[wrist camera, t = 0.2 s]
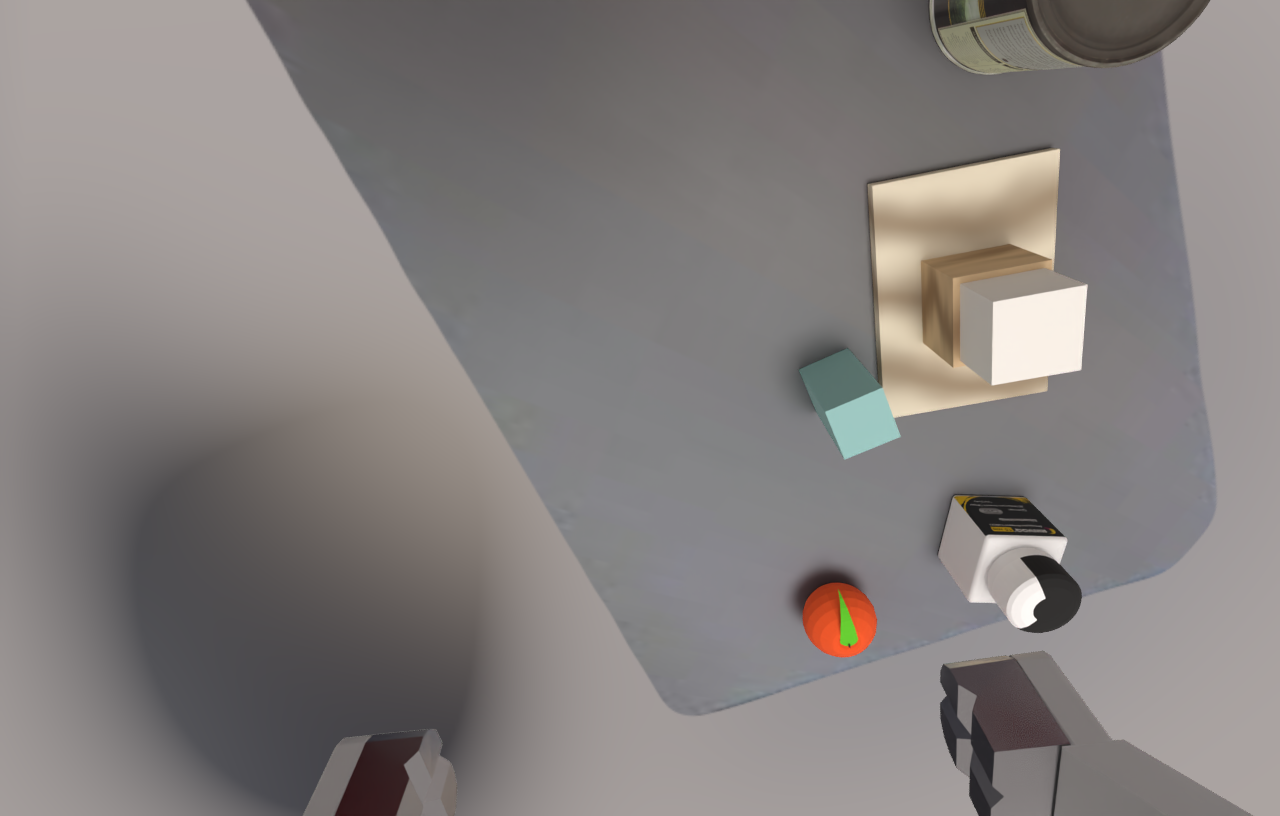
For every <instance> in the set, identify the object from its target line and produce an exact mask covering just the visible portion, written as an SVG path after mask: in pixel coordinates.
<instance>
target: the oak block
mask: <svg viewBox="0 0 1280 816" xmlns="http://www.w3.org/2000/svg"><path fill="white" fill-rule="evenodd" d="M1052 261H1053V260H1052V259H1049V258H1047V257H1044V256H1041V255H1039V254H1036V253H1033V252H1031V251H1028V250H1025V249H1022V248H1020V247H1017V246H1014V245H1012V244H1007V245H1002V246H997V247H991V248H986V249H981V250H975V251H970V252H965V253H959V254H954V255H949V256H944V257H938V258H933V259H928V260H922V261H921V288H922V327H923V343H924V344H925V345H926V346H927V347H929V348H930V349H931V350H932V351H933V352H935V353H936V354H937V355H938V356H939V357H941V358H942V359H943V360H944V361H945V362H947V363H948V364H949V365H950V366H952V367H953V368H956V367H962V366H966V365H965V364H964V363H962V362H961V361H960V284H961V283H966V282H972V281H977V280H982V279H988V278H993V277H999V276H1004V275H1009V274H1015V273H1020V272H1026V271H1031V270H1036V269H1042V268H1047V269H1049V270H1052Z"/></svg>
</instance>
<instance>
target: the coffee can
mask: <svg viewBox="0 0 1280 816" xmlns="http://www.w3.org/2000/svg"><path fill="white" fill-rule="evenodd" d="M1209 1H1210V0H930V4H929V11H930V22H931V27H932V32H933V35H934V38H935V40H936V42H937V44H938V46H939V47H940V49H941V51H942V52H943V53H944V54H945V56H946V57H947V58H948V59H949V60H950V61H952V62H953V63H954V64H955V65H957V66H958V67H960V68H962V69H964V70H966V71H968V72H972V73H977V74H984V75H990V74H1000V73H1004V72H1015V71H1028V70H1043V69H1057V68H1071V67H1094V68H1112V67H1119V66H1124V65H1128V64H1132V63H1135V62H1138V61H1140V60H1143V59H1145V58H1147V57H1150V56H1152V55H1154V54H1155V53H1157V52H1159V51H1160V50H1162V49H1164V48H1165V47H1166V46H1168V45H1169V44H1171V43H1172V42H1173V41H1175V40H1176V39H1177V38H1178V37H1179V36H1181V35H1182V34H1183V32H1185V31H1186V30H1187V29H1188V28H1189V27H1190V26H1191V25H1192V24H1193V23H1194V21H1195V20H1196V19H1197V18H1198V17H1199V16H1200V14H1201V13H1202V12H1203V10H1204V9H1205V8H1206V6H1207V5H1208V3H1209Z"/></svg>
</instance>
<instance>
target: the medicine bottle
mask: <svg viewBox="0 0 1280 816" xmlns="http://www.w3.org/2000/svg"><path fill="white" fill-rule="evenodd" d="M1066 544H1067V539H1066V537H1065V536H1064V535H1063V534H1062V533H1061V532H1060V531H1059V530H1058V529H1057V528H1056V527H1055V526H1054V525H1053V524H1052V523H1051V522H1050V521H1049V520H1048V519H1047V518H1046V517H1045V516H1044V515H1043V514H1042V513H1041V512H1040V511H1039V510H1038V509H1037V508H1036V507H1035V506H1034V505H1033V504H1032V503H1031V502H1030V501H1029V500H1028V499H1027V498H1025V497H1001V496H967V495H955V496H954V497H953V499H952V503H951V506H950V510H949V514H948V518H947V522H946V526H945V530H944V533H943V537H942V541H941V545H940V549H939V553H938V557H939V558H940V560H941V561H942V563H943V564H944V566H945V567H946V569H947V570H948V572H949V573H950V574H951V576H952V577H953V579H954V580H955V582H956V583H957V585H958V586H959V588H960V589H961V591H962V592H963V594H964V595H965V597H966V598H967V600H968V601H969V602H977V603H997V604H998V606H999V607H1000V609H1001V610H1002V611H1003V613H1004V614H1005V615H1006V617H1007V618H1008V620H1009V621H1010V622H1011V623H1012V624H1013V625H1014V626H1015V627H1016V628H1018V629H1020V630H1023V631H1026V632H1032V633H1043V632H1049V631H1052V630H1055V629H1057V628H1060V627H1061V626H1063V625H1065V624H1066V623H1067V622H1069V621H1070V620H1071V619H1072V618H1073V617H1074V615H1075V614H1076V613H1077V611H1078V609H1079V607H1080V603H1081V599H1082V593H1081V589H1080V587H1079V585H1078V584H1077V582H1076V581H1075V580H1074V579H1073V578H1072V577H1071V576H1070V575H1069V574H1068V573H1067V572H1066V571H1065V569H1064V568H1063V567H1062V566H1061V565H1060V561H1061V558H1062V555H1063V552H1064V550H1065V547H1066Z"/></svg>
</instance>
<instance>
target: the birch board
mask: <svg viewBox="0 0 1280 816" xmlns="http://www.w3.org/2000/svg"><path fill="white" fill-rule="evenodd" d="M1059 160H1060V149H1056V148H1048V149H1043V150H1038V151H1033V152H1028V153H1023V154H1018V155H1013V156H1008V157H1003V158H998V159H992V160H987V161H982V162H977V163H972V164H967V165H962V166H957V167H952V168H947V169H942V170H937V171H932V172H926V173H921V174H916V175H911V176H906V177H901V178H896V179H891V180H886V181H881V182H876V183H871V184H867V185H868V203H869V222H870V240H871V258H872V277H873V295H874V313H875V332H876V350H877V368H878V383H879V384H880V385H881V386H882V388H883V390H884V393H885V396H886V398H887V401H888V404H889V407H890V409H891V412H892V415H893V417H894V418H895V417H900V416H906V415H912V414H918V413H923V412H929V411H935V410H941V409H947V408H952V407H958V406H964V405H970V404H975V403H981V402H987V401H993V400H998V399H1004V398H1010V397H1016V396H1021V395H1027V394H1033V393H1039V392H1044V391H1047V385H1048V376H1043V377H1038V378H1032V379H1026V380H1021V381H1015V382H1009V383H1004V384H998V385H990V384H989V383H988V382H987V381H985V380H984V379H983V378H981V377H980V376H979V375H978V374H976V373H975V372H974V371H973V370H971V369H970V368H969V367H967V366H962V367H956V368H953V367H952V366H950V365H949V364H948V363H947V362H945V361H944V360H943V359H942V358H941V357H939V356H938V355H937V354H936V353H935V352H933V351H932V350H931V349H930V348H929V347H927V346H926V345H925V344H924V343H923V327H922V288H921V261H922V260H928V259H933V258H938V257H944V256H949V255H954V254H959V253H965V252H970V251H975V250H981V249H986V248H991V247H997V246H1002V245H1007V244H1012V245H1014V246H1017V247H1020V248H1022V249H1025V250H1028V251H1031V252H1033V253H1036V254H1039V255H1041V256H1044V257H1047V258H1049V259H1052V260H1053V261H1052V271H1054V254H1055V235H1056V216H1057V197H1058V178H1059Z"/></svg>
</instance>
